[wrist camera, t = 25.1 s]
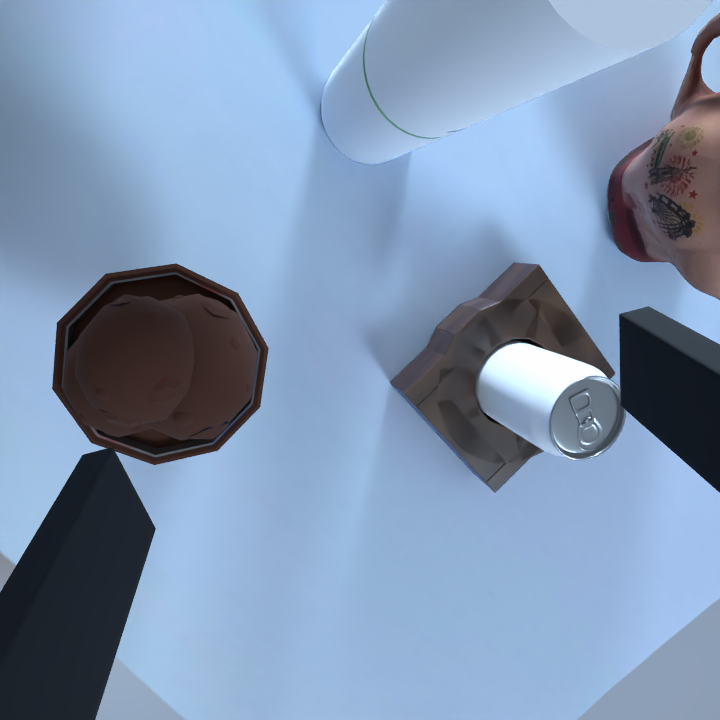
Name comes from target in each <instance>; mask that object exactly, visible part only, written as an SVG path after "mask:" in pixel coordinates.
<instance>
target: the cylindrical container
mask: <svg viewBox="0 0 720 720" xmlns="http://www.w3.org/2000/svg"><path fill="white" fill-rule="evenodd" d="M712 1H713V0H386V1H385V2H384V4H383V5H382V7H381V8H380V9H379V11H378V12H377V13H376V15H375V16H374V17H373V19H372V20H371V21H370V23H369V24H368V25H367V27H366V28H365V29H364V31H363V32H362V33H361V35H360V36H359V37H358V39H357V40H356V41H355V43H354V44H353V45H352V47H351V48H350V49H349V51H348V52H347V54H346V55H345V56H344V58H343V59H342V60H341V62H340V63H339V64H338V66H337V67H336V68H335V70H334V71H333V72H332V74H331V75H330V77H329V79H328V81H327V82H326V84H325V87H324V90H323V94H322V100H321V115H322V121H323V125H324V128H325V130H326V133H327V135H328V137H329V139H330V140H331V142H332V143H333V145H334V146H335V147H336V148H337V149H338V150H339V151H340V152H341V153H342V154H344V155H345V156H346V157H348V158H349V159H351V160H354V161H356V162H358V163H363V164H368V165H373V164H381V163H385V162H388V161H390V160H393V159H395V158H397V157H400V156H402V155H404V154H407V153H409V152H412V151H414V150H416V149H419V148H421V147H423V146H426V145H428V144H430V143H433V142H435V141H437V140H440V139H442V138H444V137H447V136H449V135H451V134H454V133H456V132H458V131H461V130H463V129H465V128H468V127H470V126H472V125H475V124H477V123H479V122H482V121H484V120H486V119H489V118H491V117H493V116H496V115H498V114H500V113H503V112H505V111H507V110H510V109H512V108H514V107H517V106H519V105H521V104H524V103H526V102H528V101H531V100H533V99H535V98H538V97H540V96H542V95H545V94H547V93H549V92H552V91H554V90H556V89H559V88H561V87H563V86H566V85H568V84H570V83H573V82H575V81H577V80H580V79H582V78H584V77H587V76H589V75H591V74H594V73H596V72H598V71H601V70H603V69H605V68H608V67H610V66H612V65H615V64H617V63H619V62H622V61H624V60H626V59H629V58H631V57H633V56H636V55H638V54H640V53H643V52H645V51H647V50H650V49H652V48H654V47H657V46H659V45H661V44H663V43H665V42H667V41H669V40H671V39H673V38H676V37H677V36H678V35H680V34H681V33H682V32H683V31H685V30H686V29H687V28H689V27H690V26H691V25H693V24H694V23H695V21H696V20H697V19H698V18H699V17H700V16H701V15H702V13H703V12H704V11H705V10H706V9H707V8H708V7H709V5H710V4H711V2H712Z"/></svg>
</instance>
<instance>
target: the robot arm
mask: <svg viewBox="0 0 720 720" xmlns="http://www.w3.org/2000/svg"><path fill="white" fill-rule="evenodd" d="M619 328H620V399H621V406H622V407H623V408H624V409H625V410H626V411H627V412H629V413H630V414H631V415H632V416H633V417H634V418H635V419H637V420H638V421H639V422H640V423H641V424H642V425H643V426H644V427H646V428H647V429H648V430H649V431H650V432H651V433H652V434H654V435H655V436H656V437H657V438H658V439H659V440H660V441H662V442H663V443H664V444H665V445H666V446H667V447H668V448H670V449H671V450H672V451H673V452H674V453H675V454H676V455H678V456H679V457H680V458H681V459H682V460H683V461H684V462H685V463H687V464H688V465H689V466H690V467H691V468H692V469H693V470H695V471H696V472H697V473H698V474H699V475H700V476H701V477H703V478H704V479H705V480H706V481H707V482H708V483H709V484H711V485H712V486H713V487H714V488H715V489H716V490H717V491H719V492H720V344H718V343H716V342H714V341H712V340H710V339H708V338H706V337H705V336H703V335H701V334H699V333H697V332H695V331H693V330H692V329H690V328H688V327H686V326H684V325H682V324H680V323H678V322H677V321H675V320H673V319H671V318H669V317H667V316H665V315H664V314H662V313H660V312H658V311H656V310H654V309H652V308H650V307H649V306H648V307H644V308H641V309H637V310H633V311H629V312H625V313H621V314H619ZM155 529H156V528H155V526H154V525H153V523H152V521H151V519H150V517H149V515H148V513H147V511H146V509H145V507H144V506H143V504H142V502H141V500H140V498H139V496H138V494H137V492H136V490H135V488H134V487H133V485H132V483H131V481H130V479H129V477H128V475H127V473H126V471H125V469H124V468H123V466H122V464H121V462H120V460H119V458H118V456H117V454H116V452H115V450H114V449H113V447H111V448H107V449H104V450H100V451H96V452H92V453H88V454H84V455H82V457H81V459H80V460H79V462H78V464H77V465H76V467H75V469H74V470H73V472H72V474H71V475H70V477H69V479H68V480H67V482H66V484H65V485H64V487H63V489H62V490H61V492H60V494H59V495H58V497H57V499H56V500H55V502H54V504H53V505H52V507H51V509H50V510H49V512H48V514H47V515H46V517H45V519H44V520H43V522H42V524H41V525H40V527H39V529H38V530H37V532H36V534H35V535H34V537H33V539H32V540H31V542H30V544H29V545H28V547H27V549H26V550H25V552H24V554H23V555H22V557H21V559H20V560H19V562H18V564H17V565H16V567H15V569H14V570H13V572H12V574H11V576H10V577H9V579H8V580H7V582H6V584H5V585H4V587H3V589H2V591H1V592H0V720H95V718H96V715H97V712H98V709H99V705H100V703H101V699H102V696H103V693H104V690H105V687H106V684H107V680H108V677H109V674H110V671H111V668H112V665H113V662H114V658H115V655H116V652H117V649H118V646H119V643H120V640H121V636H122V633H123V630H124V627H125V624H126V621H127V618H128V614H129V611H130V608H131V605H132V602H133V599H134V595H135V592H136V589H137V586H138V583H139V580H140V577H141V573H142V570H143V567H144V564H145V561H146V558H147V555H148V551H149V548H150V545H151V542H152V539H153V536H154V533H155Z"/></svg>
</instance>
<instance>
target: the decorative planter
mask: <svg viewBox="0 0 720 720" xmlns="http://www.w3.org/2000/svg"><path fill="white" fill-rule="evenodd" d="M718 36H720V13H719V14H718V15H717V16H715V17H714V18H713V19H712V20H710V21H709V22H708V23H707V25H706V26H705V27H704V28H703V29H702V30H701V31H700V32H699V34H698V35H697V37H696V39H695V41H694V44H693V46H692V49H691V53H692V57H691V60H690V63H689V66H688V70H687V73H686V75H685V77H684V79H683V81H682V84H681V87H680V90H679V93H678V96H677V98H676V101H675V104H674V107H673V109H672V112H671V122H669V123H668V124H666V126H665V127H664V128H663V129H662V130H661V131H660V132H659V133H658V134H657V135H656V137H654V138H652V139H650V140H648V141H647V142H645V143H644V144H642V145H641V146H639V147H637V148H636V149H634V150H633V151H631V152H630V153H629V154H628V155H626V156H625V157H624V158H623V159H622V160H621V161H620V162H619V163H618V164H617V165H616V167H615V168H614V170H613V172H612V174H611V176H610V180H609V184H608V189H607V213H608V219H609V222H610V225H611V228H612V232H613V235H614V240H615V243H616V246H617V247H618V249H619V250H620V251H621V252H622V253H624V254H625V255H627V256H629V257H630V258H632V259H634V260H637V261H640V262H669V263H672V264H673V265H674V266H675V267H676V268H677V270H678V271H679V272H680V274H681V275H682V276H683V277H684V279H685V280H686V281H687V282H688V283H689V284H690V285H692V286H693V287H694V288H696V289H697V290H699V291H701V292H704V293H706V294H708V295H710V296H713V297H715V298H717V299H719V300H720V92H718V93H715V92H713V91H712V90H710V89H709V88H708V87H707V86H706V84H705V83H704V81H703V79H702V76H701V64H702V56H703V54H704V52H705V50H706V48H707V47H708V45H709V44H710V43H711V42H712V40H713V39H714V38H717V37H718Z"/></svg>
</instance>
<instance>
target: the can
mask: <svg viewBox="0 0 720 720" xmlns="http://www.w3.org/2000/svg"><path fill="white" fill-rule="evenodd" d="M474 393H475V397H476V400H477V404H478V407H479V409H480V410H481V411H482V412H484V413H485V414H487V415H488V416H490V417H491V418H493V419H495V420H496V421H498V422H499V423H501V424H502V425H504V426H505V427H507V428H509V429H510V430H512V431H513V432H515V433H516V434H518V435H520V436H521V437H523V438H524V439H526V440H527V441H529V442H531V443H532V444H534V445H535V446H537V447H539V448H540V449H542V450H544V451H546V452H547V453H550V454H552V455H555V456H559V457H567V458H570V459H573V460H588V459H592V458H594V457H597V456H599V455H600V454H602V453H604V452H605V451H606V450H607V449H609V448H610V447H611V446H612V444H613V443H614V442H615V441H616V439H617V438H618V436H619V435H620V433H621V431H622V428H623V426H624V422H625V418H626V410H625V409H624V408H623V407H622V406H621V399H620V388H619V386H618V385H617V384H616V383H615V382H614V381H612V380H611V379H609V378H607V377H606V375H605V374H604V373H603V372H601V371H600V370H599V369H597V368H595V367H593V366H591V365H588V364H586V363H583V362H580V361H577V360H575V359H572V358H569V357H566V356H563V355H560V354H557V353H554V352H551V351H548V350H545V349H542V348H539V347H536V346H533V345H530V344H527V343H524V342H521V341H518V340H514V339H512V340H510V341H507V342H505V343H503V344H500V345H498V346H497V347H496V348H495V349H494V350H493V351H492V352H490V353H489V354H488V355H487V356H486V357H485V358H484V360H483V362H482V364H481V366H480V368H479V370H478V372H477V374H476V381H475V391H474Z"/></svg>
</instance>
